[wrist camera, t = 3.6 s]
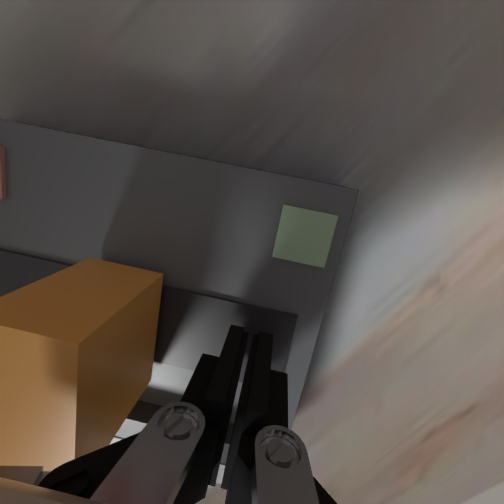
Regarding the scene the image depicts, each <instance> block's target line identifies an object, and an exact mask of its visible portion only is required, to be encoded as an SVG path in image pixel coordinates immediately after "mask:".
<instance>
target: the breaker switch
mask: <svg viewBox="0 0 504 504" xmlns="http://www.w3.org/2000/svg"><path fill="white" fill-rule="evenodd" d="M162 282H163V273H159V272H154V271H150V270H145V269H141V268H136V267H132V266H127V265H122V264H118V263H113V262H109V261H104V260H100V259H95V258H88V259H86V260H84V261H82V262H79V263H77V264H75V265H72V266H70V267H68V268H65V269H63V270H61V271H59V272H56V273H54V274H52V275H49V276H47V277H45V278H43V279H40V280H38V281H36V282H33V283H31V284H29V285H27V286H24V287H22V288H20V289H17V290H15V291H13V292H11V293H8V294H6V295H4V296H1V297H0V466H43V471H52V470H53V469H55V468H57V467H59V466H60V465H62V464H64V463H66V462H69V461H71V460H73V459H76V458H78V457H81V456H83V455H86V454H88V453H90V452H93V451H95V450H98V449H100V448H103V447H105V446H107V445H109V444H110V443H111V441H112V439H113V438H114V436H115V435H116V433H117V432H118V430H119V429H120V427H121V426H122V424H123V422H124V421H125V419H126V418H127V416H128V415H129V413H130V412H131V410H132V409H133V407H134V406H135V404H136V402H137V401H138V399H139V398H140V396H141V395H142V393H143V392H144V390H145V389H146V387H147V385H148V384H149V382H150V381H151V378H152V369H153V360H154V352H155V343H156V334H157V326H158V317H159V308H160V300H161V291H162Z"/></svg>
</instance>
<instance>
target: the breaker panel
mask: <svg viewBox="0 0 504 504" xmlns="http://www.w3.org/2000/svg"><path fill="white" fill-rule="evenodd" d="M358 192H359V190H355V189H351V188H347V187H343V186H338V185H333V184H328V183H323V182H318V181H313V180H308V179H303V178H298V177H293V176H288V175H282V174H277V173H272V172H267V171H262V170H257V169H252V168H247V167H242V166H237V165H232V164H227V163H222V162H217V161H212V160H207V159H202V158H197V157H192V156H187V155H181V154H176V153H171V152H166V151H161V150H156V149H151V148H146V147H141V146H136V145H131V144H126V143H121V142H116V141H111V140H106V139H101V138H96V137H91V136H86V135H80V134H75V133H70V132H65V131H60V130H55V129H50V128H45V127H40V126H35V125H30V124H25V123H20V122H15V121H10V120H4V119H0V297H1V296H4V295H6V294H8V293H11V292H13V291H15V290H17V289H20V288H22V287H24V286H27V285H29V284H31V283H33V282H36V281H38V280H40V279H43V278H45V277H47V276H49V275H52V274H54V273H56V272H59V271H61V270H63V269H65V268H68V267H70V266H72V265H75V264H77V263H79V262H82V261H84V260H86V259H88V258H95V259H100V260H104V261H109V262H113V263H118V264H122V265H127V266H132V267H136V268H141V269H145V270H150V271H154V272H159V273H163V282H162V291H161V300H160V308H159V317H158V326H157V334H156V343H155V352H154V360H153V369H152V378H151V381H150V382H149V384H148V385H147V387H146V389H145V390H144V392H143V393H142V395H141V396H140V398H139V399H138V401H137V402H136V404H135V406H134V407H133V409H132V410H131V412H130V413H129V415H128V416H127V418H126V419H125V421H124V422H123V424H122V426H121V427H120V429H119V430H118V432H117V433H116V435H115V436H114V438H113V439H112V441H111V443H110V444H112V443H115V442H117V441H120V440H122V439H124V438H127V437H129V436H132V435H134V434H137V433H139V432H141V431H142V430H143V428H144V427H145V426H146V424H147V423H148V422H149V421H150V419H151V418H152V417H153V415H154V414H155V413H156V412H157V411H158V410H159V409H160V408H161V407H163V406H164V405H166V404H169V403H173V402H180V401H181V399H182V396H183V394H184V392H185V390H186V388H187V386H188V383H189V381H190V379H191V377H192V375H193V373H194V370H195V368H196V366H197V364H198V362H199V360H200V357H201V355H202V354H203V353H204V354H209V355H213V356H217V357H220V354H221V351H222V348H223V345H224V343H225V340H226V337H227V334H228V331H229V329H230V326H231V324H233V325H237V326H241V327H245V328H244V331H246V332H249V335H248V340H247V345H246V349H245V354H244V358H243V363H242V368H241V372H240V377H239V381H238V386H237V391H236V395H235V400H234V404H233V409H232V413H231V417H230V422H229V426H228V431H227V435H226V440H225V444H224V449H223V453H222V457H221V462H220V466H219V471H218V475H217V480H216V483H219V484H222V479H223V474H224V469H225V465H226V460H227V455H228V450H229V445H230V440H231V435H232V431H233V426H234V421H235V416H236V411H237V406H238V401H239V397H240V392H241V387H242V383H243V378H244V374H245V369H246V365H247V360H248V356H249V351H250V347H251V342H252V338H253V334H259V332H260V331H263V332H267V333H271V334H273V346H272V360H271V370H275V371H280V372H284V373H287V374H288V429H290V430H291V428H292V425H293V421H294V418H295V414H296V411H297V407H298V404H299V400H300V397H301V393H302V390H303V386H304V382H305V379H306V375H307V372H308V368H309V365H310V361H311V358H312V354H313V351H314V347H315V344H316V340H317V337H318V333H319V330H320V326H321V323H322V319H323V315H324V312H325V308H326V305H327V301H328V298H329V294H330V291H331V287H332V284H333V280H334V277H335V273H336V270H337V266H338V263H339V259H340V255H341V252H342V248H343V245H344V241H345V238H346V234H347V231H348V227H349V224H350V220H351V217H352V213H353V210H354V206H355V203H356V199H357V195H358ZM110 444H109V445H110Z"/></svg>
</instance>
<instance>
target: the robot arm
mask: <svg viewBox="0 0 504 504" xmlns="http://www.w3.org/2000/svg"><path fill="white" fill-rule="evenodd" d="M244 328H245V327H241V326H237V325H233V324H231V326H230V329H229V331H228V334H227V337H226V340H225V343H224V345H223V348H222V351H221V354H220V357H217V356H213V355H209V354H204V353H203V354H202V355H201V357H200V360H199V362H198V364H197V366H196V368H195V370H194V373H193V375H192V377H191V379H190V381H189V383H188V386H187V388H186V390H185V392H184V394H183V396H182V399H181V401H180V402H173V403H169V404H166V405H164V406H163V407H161V408H160V409H159V410H158V411H157V412H156V413H155V414H154V415H153V417H152V418H151V419H150V421H149V422H148V423H147V424H146V426H145V427H144V428H143V430H142V431H141V432H139V433H137V434H134V435H132V436H129V437H127V438H124V439H122V440H120V441H117V442H115V443H112V444H110V445H107V446H105V447H103V448H100V449H98V450H95V451H93V452H90V453H88V454H86V455H83V456H81V457H78V458H76V459H73V460H71V461H69V462H66V463H64V464H62V465H60V466H59V467H57V468H55V469H53V470H52V471H43V466H0V504H195V503H197V502H198V501H200V500H201V499H203V498H205V495H206V491H207V487H208V485H211V486H215V484H216V480H217V475H218V471H219V466H220V462H221V457H222V453H223V449H224V444H225V440H226V435H227V431H228V426H229V422H230V417H231V413H232V409H233V404H234V400H235V395H236V391H237V386H238V381H239V377H240V372H241V368H242V363H243V358H244V354H245V349H246V345H247V340H248V335H249V332H246V331H244ZM272 346H273V334H271V333H267V332H263V331H260V332H259V334H253V338H252V342H251V347H250V351H249V356H248V360H247V365H246V369H245V374H244V378H243V383H242V387H241V392H240V397H239V401H238V406H237V411H236V416H235V421H234V426H233V431H232V435H231V440H230V445H229V450H228V455H227V460H226V465H225V469H224V474H223V479H222V484H221V488H222V489H226V490H227V495H226V501H225V504H337V503H336V502H335V501H334V500H333V498H332V497H331V496H330V495H329V494H328V493H327V492H326V490H325V489H324V488H323V487H322V486H321V485H320V484H319V482H318V481H317V480H316V479H315V478H314V477H313V474H312V470H311V466H310V461H309V457H308V453H307V449H306V447H305V444H304V442H303V441H302V440H301V438H300V437H299V436H298V435H297V434H296V433H294V432H293V431H292V430H290V429H288V374H287V373H284V372H280V371H275V370H271V360H272Z"/></svg>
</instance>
